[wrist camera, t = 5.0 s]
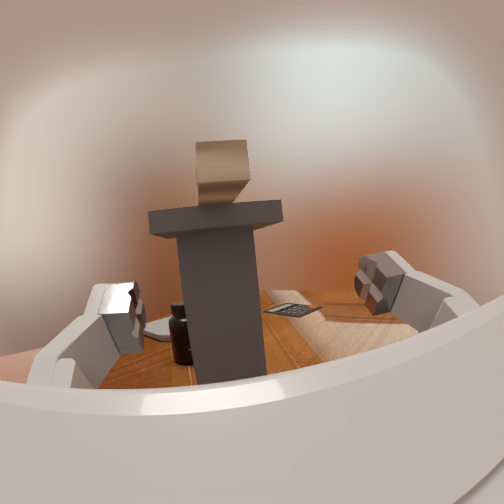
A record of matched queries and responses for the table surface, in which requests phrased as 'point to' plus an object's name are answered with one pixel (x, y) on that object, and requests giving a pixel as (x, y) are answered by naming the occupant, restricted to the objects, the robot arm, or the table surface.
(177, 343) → the supplement bottle
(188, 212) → the charcoal stand
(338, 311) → the table surface
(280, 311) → the calculator
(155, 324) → the tablet
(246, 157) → the maple bar
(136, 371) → the table surface
